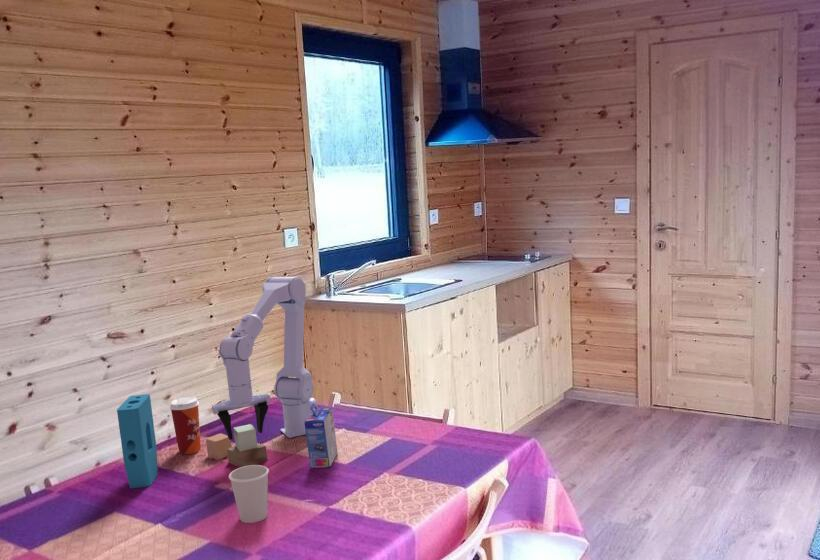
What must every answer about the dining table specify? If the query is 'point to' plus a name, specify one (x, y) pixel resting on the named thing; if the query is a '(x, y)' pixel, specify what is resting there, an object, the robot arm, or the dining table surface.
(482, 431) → the dining table surface
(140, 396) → the block
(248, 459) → the walnut base
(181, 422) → the paper cup
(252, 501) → the dixie cup
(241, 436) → the sage cube
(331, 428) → the ink cartridge box
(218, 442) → the terracotta cube
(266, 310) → the robot arm
